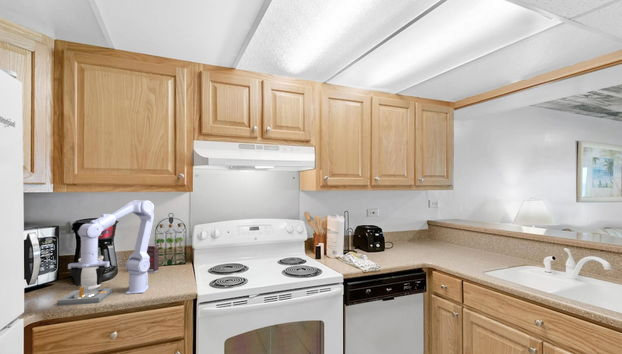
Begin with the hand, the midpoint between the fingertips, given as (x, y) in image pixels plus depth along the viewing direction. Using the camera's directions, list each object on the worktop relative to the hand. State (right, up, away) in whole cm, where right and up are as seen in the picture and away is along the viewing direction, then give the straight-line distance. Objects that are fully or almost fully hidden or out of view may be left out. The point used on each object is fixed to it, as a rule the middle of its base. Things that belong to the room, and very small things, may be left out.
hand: (88, 284), depth 125 cm
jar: (-18, -11, +25) cm, 33 cm away
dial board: (-9, -10, +10) cm, 17 cm away
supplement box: (-3, -12, +53) cm, 54 cm away
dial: (-9, -9, +10) cm, 16 cm away
